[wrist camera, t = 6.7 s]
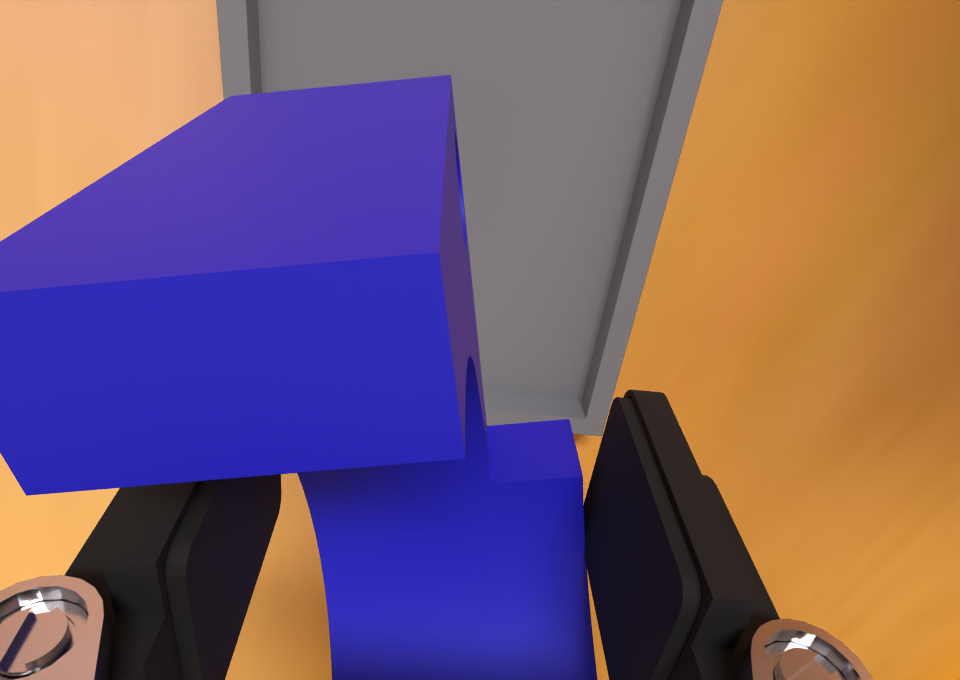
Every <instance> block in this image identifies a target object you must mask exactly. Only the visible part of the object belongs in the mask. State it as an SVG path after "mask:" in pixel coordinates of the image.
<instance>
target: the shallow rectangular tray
mask: <svg viewBox="0 0 960 680" xmlns="http://www.w3.org/2000/svg"><path fill="white" fill-rule="evenodd" d="M216 2H217V15H218V29H219V42H220V56H221V69H222V83H223V96H224V100H225V99H227V98H228V97H230V96H237V95H247V94H257V93H268V92H278V91H288V90H299V89H309V88H320V87H330V86H340V85H351V84H361V83H372V82H382V81H392V80H403V79H413V78H423V77H434V76H444V75H451V80H452V90H453V99H454V109H455V119H456V129H457V139H458V148H459V158H460V168H461V178H462V188H463V197H464V207H465V217H466V227H467V237H468V246H469V256H470V266H471V276H472V286H473V295H474V305H475V315H476V325H477V335H478V344H479V354H480V364H481V374H482V384H483V393H484V403H485V413H486V423H487V426H492V425H504V424H516V423H527V422H539V421H551V420H563V419H569V420H570V424H571V428H572V433H573V434H582V435H594V436H602V433H603V429H604V426H605V422H606V419H607V415H608V411H609V408H610V404H611V401H612V397H613V393H614V390H615V386H616V383H617V379H618V376H619V372H620V368H621V365H622V361H623V358H624V354H625V350H626V347H627V343H628V340H629V336H630V333H631V329H632V325H633V322H634V318H635V315H636V311H637V307H638V304H639V300H640V297H641V293H642V290H643V286H644V282H645V279H646V275H647V272H648V268H649V264H650V261H651V257H652V254H653V250H654V247H655V243H656V239H657V236H658V232H659V229H660V225H661V221H662V218H663V214H664V211H665V207H666V203H667V200H668V196H669V193H670V189H671V186H672V182H673V178H674V175H675V171H676V168H677V164H678V160H679V157H680V153H681V150H682V146H683V143H684V139H685V135H686V132H687V128H688V125H689V121H690V117H691V114H692V110H693V107H694V103H695V100H696V96H697V92H698V89H699V85H700V82H701V78H702V74H703V71H704V67H705V64H706V60H707V57H708V53H709V49H710V46H711V42H712V39H713V35H714V31H715V28H716V24H717V21H718V17H719V14H720V10H721V6H722V3H723V0H216Z"/></svg>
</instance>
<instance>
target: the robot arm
mask: <svg viewBox="0 0 960 680" xmlns="http://www.w3.org/2000/svg"><path fill="white" fill-rule="evenodd" d="M280 503H281V474H276V475H264V476H252V477H240V478H228V479H216V480H204V481H192V482H180V483H169V484H157V485H145V486H133V487H121V488H120V489H119V490H118V492H117V494H116V495H115V497H114V498H113V500H112V501H111V503H110V505H109V506H108V508H107V509H106V511H105V512H104V514H103V516H102V517H101V519H100V520H99V522H98V523H97V525H96V527H95V528H94V530H93V531H92V533H91V535H90V536H89V538H88V539H87V541H86V542H85V544H84V546H83V547H82V549H81V550H80V552H79V553H78V555H77V557H76V558H75V560H74V561H73V563H72V564H71V566H70V568H69V569H68V571H67V572H66V574H65V575H58V576H41V577H37V578H34V579H30V580H26V581H22V582H19V583H16V584H14V585H12V586H10V587H8V588H5V589H3V590H1V591H0V680H225V677H226V674H227V671H228V668H229V665H230V662H231V659H232V656H233V653H234V650H235V647H236V643H237V640H238V637H239V634H240V631H241V628H242V625H243V622H244V619H245V616H246V613H247V610H248V606H249V603H250V600H251V597H252V594H253V591H254V588H255V585H256V582H257V579H258V576H259V573H260V570H261V566H262V563H263V560H264V557H265V554H266V551H267V548H268V545H269V542H270V539H271V536H272V533H273V530H274V526H275V523H276V520H277V517H278V514H279V509H280ZM583 511H584V533H585V549H584V556H585V561H586V566H587V571H588V576H589V581H590V586H591V591H592V596H593V601H594V606H595V610H596V615H597V620H598V625H599V630H600V635H601V640H602V645H603V650H604V655H605V660H606V665H607V670H608V675H609V680H873V679H872V677H871V675H870V673H869V672H868V671H867V669H866V668H865V666H864V665H863V664H862V662H861V661H860V659H859V658H858V657H857V656H856V655H855V654H854V653H853V652H852V651H851V650H850V649H849V648H848V647H847V646H845V645H844V644H843V643H842V642H841V641H839V640H838V639H836V638H835V637H833V636H832V635H830V634H829V633H827V632H826V631H824V630H822V629H820V628H818V627H815V626H813V625H811V624H808V623H806V622H802V621H797V620H792V619H780V618H779V616H778V614H777V612H776V610H775V607H774V605H773V603H772V601H771V599H770V597H769V595H768V593H767V591H766V589H765V586H764V584H763V582H762V580H761V578H760V576H759V574H758V572H757V570H756V567H755V565H754V563H753V561H752V559H751V557H750V555H749V553H748V551H747V549H746V546H745V544H744V542H743V540H742V538H741V536H740V534H739V532H738V530H737V528H736V525H735V523H734V521H733V519H732V517H731V515H730V513H729V511H728V509H727V507H726V504H725V502H724V500H723V498H722V496H721V494H720V492H719V490H718V488H717V486H716V484H715V483H714V481H713V480H712V479H711V478H710V477H708V476H706V475H702V474H701V472H700V469H699V467H698V465H697V463H696V461H695V458H694V456H693V454H692V452H691V450H690V448H689V445H688V443H687V441H686V439H685V437H684V434H683V432H682V430H681V428H680V426H679V423H678V421H677V419H676V417H675V415H674V413H673V410H672V408H671V406H670V404H669V402H668V399H667V397H666V396H665V394H664V393H661V392H651V391H640V390H628V391H627V392H626V393H625V395H624V398H620V397H616V398H615V399H614V400H613V403H612V405H611V409H610V413H609V416H608V420H607V423H606V427H605V430H604V434H603V438H602V441H601V445H600V448H599V452H598V455H597V459H596V463H595V466H594V470H593V473H592V477H591V480H590V484H589V488H588V491H587V495H586V498H585V502H584V505H583Z"/></svg>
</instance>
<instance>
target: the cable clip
mask: <svg viewBox="0 0 960 680" xmlns="http://www.w3.org/2000/svg"><path fill="white" fill-rule="evenodd" d="M0 453H1V454H2V456H3V458H4V459H5V461H6V463H7V464H8V466H9V468H10V469H11V471H12V473H13V474H14V476H15V478H16V479H17V481H18V483H19V484H20V486H21V487H22V489H23V491H24V492H25V494H26V495H37V494H49V493H61V492H73V491H85V490H97V489H109V488H121V487H133V486H145V485H157V484H169V483H180V482H192V481H204V480H216V479H228V478H240V477H252V476H264V475H276V474H288V473H298V476H299V479H300V481H301V484H302V487H303V490H304V493H305V496H306V499H307V503H308V506H309V509H310V513H311V517H312V521H313V525H314V529H315V533H316V538H317V543H318V548H319V553H320V558H321V565H322V571H323V577H324V584H325V592H326V600H327V609H328V620H329V631H330V645H331V663H332V680H597V672H596V663H595V654H594V645H593V635H592V625H591V615H590V603H589V592H588V579H587V566H586V561H585V556H584V549H585V533H584V511H583V475H582V471H581V467H580V462H579V458H578V454H577V450H576V445H575V441H574V437H573V433H572V428H571V424H570V420H569V419H563V420H551V421H539V422H527V423H516V424H504V425H492V426H487V423H486V413H485V403H484V393H483V384H482V374H481V364H480V354H479V344H478V335H477V325H476V315H475V305H474V295H473V286H472V276H471V266H470V256H469V246H468V237H467V227H466V217H465V207H464V197H463V188H462V178H461V168H460V158H459V148H458V139H457V129H456V119H455V109H454V99H453V90H452V80H451V75H444V76H434V77H423V78H413V79H403V80H392V81H382V82H372V83H361V84H351V85H340V86H330V87H320V88H309V89H299V90H288V91H278V92H268V93H257V94H247V95H237V96H230V97H228V98H227V99H225V100H223V101H222V102H220V103H219V104H217V105H216V106H214V107H212V108H211V109H209V110H208V111H206V112H204V113H203V114H201V115H200V116H198V117H197V118H195V119H193V120H192V121H190V122H189V123H187V124H186V125H184V126H182V127H181V128H179V129H178V130H176V131H174V132H173V133H171V134H170V135H168V136H167V137H165V138H163V139H162V140H160V141H159V142H157V143H156V144H154V145H152V146H151V147H149V148H148V149H146V150H144V151H143V152H141V153H140V154H138V155H137V156H135V157H133V158H132V159H130V160H129V161H127V162H126V163H124V164H122V165H121V166H119V167H118V168H116V169H114V170H113V171H111V172H110V173H108V174H107V175H105V176H103V177H102V178H100V179H99V180H97V181H96V182H94V183H92V184H91V185H89V186H88V187H86V188H84V189H83V190H81V191H80V192H78V193H77V194H75V195H73V196H72V197H70V198H69V199H67V200H66V201H64V202H62V203H61V204H59V205H58V206H56V207H55V208H53V209H51V210H50V211H48V212H47V213H45V214H43V215H42V216H40V217H39V218H37V219H36V220H34V221H32V222H31V223H29V224H28V225H26V226H25V227H23V228H21V229H20V230H18V231H17V232H15V233H13V234H12V235H10V236H9V237H7V238H6V239H4V240H2V241H1V242H0Z"/></svg>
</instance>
